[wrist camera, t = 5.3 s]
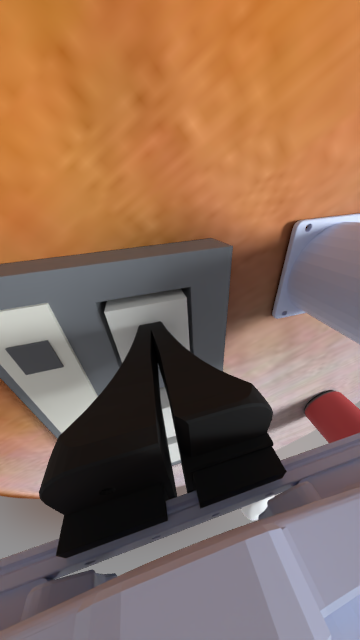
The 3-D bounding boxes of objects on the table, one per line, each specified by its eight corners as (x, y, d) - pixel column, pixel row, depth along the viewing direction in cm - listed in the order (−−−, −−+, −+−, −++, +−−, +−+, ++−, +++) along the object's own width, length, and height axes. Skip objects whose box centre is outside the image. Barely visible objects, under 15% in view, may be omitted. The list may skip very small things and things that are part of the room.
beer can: (339, 398, 31) (436, 486, 21) (306, 418, 32) (384, 510, 22) (336, 382, 28) (451, 479, 18) (298, 405, 29) (387, 508, 19)
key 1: (175, 279, 12) (186, 297, 10) (180, 331, 15) (190, 355, 12) (109, 290, 12) (104, 312, 9) (125, 341, 14) (124, 370, 12)
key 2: (187, 410, 21) (195, 436, 19) (189, 428, 23) (196, 454, 21) (150, 420, 20) (153, 449, 18) (155, 438, 23) (159, 466, 20)
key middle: (185, 370, 16) (196, 399, 13) (188, 399, 18) (197, 429, 16) (135, 381, 15) (136, 415, 13) (145, 410, 18) (147, 444, 15)
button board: (211, 238, 12) (235, 246, 9) (207, 427, 26) (217, 454, 23) (-31, 267, 10) (-92, 290, 7) (106, 458, 23) (103, 490, 21)
